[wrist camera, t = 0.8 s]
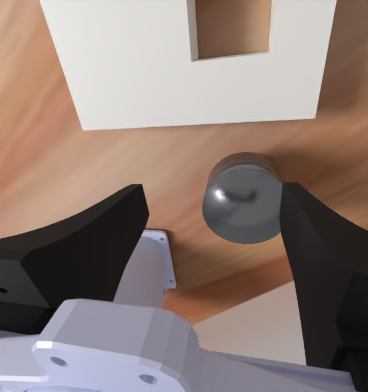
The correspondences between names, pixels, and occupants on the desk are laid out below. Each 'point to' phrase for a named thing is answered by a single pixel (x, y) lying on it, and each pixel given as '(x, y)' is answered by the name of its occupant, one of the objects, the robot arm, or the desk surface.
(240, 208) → the cylinder
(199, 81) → the plate
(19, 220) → the desk surface
